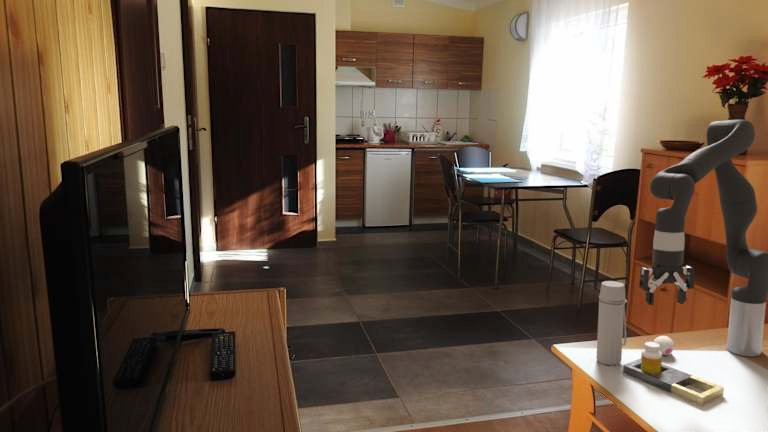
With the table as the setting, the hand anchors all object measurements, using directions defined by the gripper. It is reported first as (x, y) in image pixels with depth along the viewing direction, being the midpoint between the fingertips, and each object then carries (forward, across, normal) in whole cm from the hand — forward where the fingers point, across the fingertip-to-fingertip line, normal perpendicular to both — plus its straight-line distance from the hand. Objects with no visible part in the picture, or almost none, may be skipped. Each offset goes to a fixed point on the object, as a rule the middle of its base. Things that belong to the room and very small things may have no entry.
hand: (665, 303), depth 155 cm
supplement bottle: (+24, 0, -4) cm, 24 cm away
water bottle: (+24, +7, -15) cm, 29 cm away
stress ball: (+24, -11, -19) cm, 32 cm away
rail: (+23, -2, +1) cm, 24 cm away
